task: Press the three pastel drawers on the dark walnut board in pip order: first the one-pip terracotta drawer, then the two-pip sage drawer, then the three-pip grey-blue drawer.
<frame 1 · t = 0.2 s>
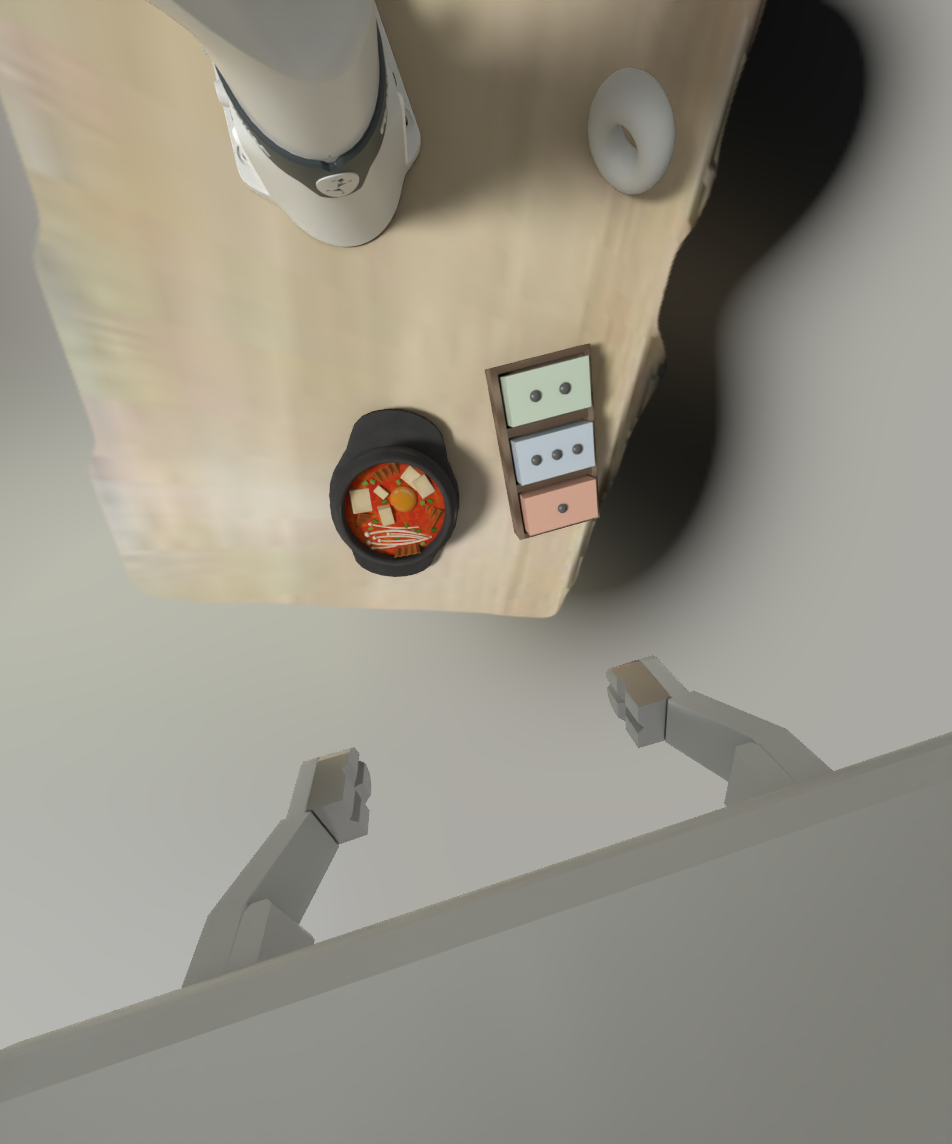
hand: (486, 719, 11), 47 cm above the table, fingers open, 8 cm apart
donut: (604, 164, 42), on the table
casserole: (396, 497, 55), on the table
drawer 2: (545, 391, 48), point 4 cm above the table, slide at 0.0 cm
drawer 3: (552, 452, 52), point 4 cm above the table, slide at 0.0 cm
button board: (543, 448, 56), on the table
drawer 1: (558, 505, 56), point 4 cm above the table, slide at 0.0 cm
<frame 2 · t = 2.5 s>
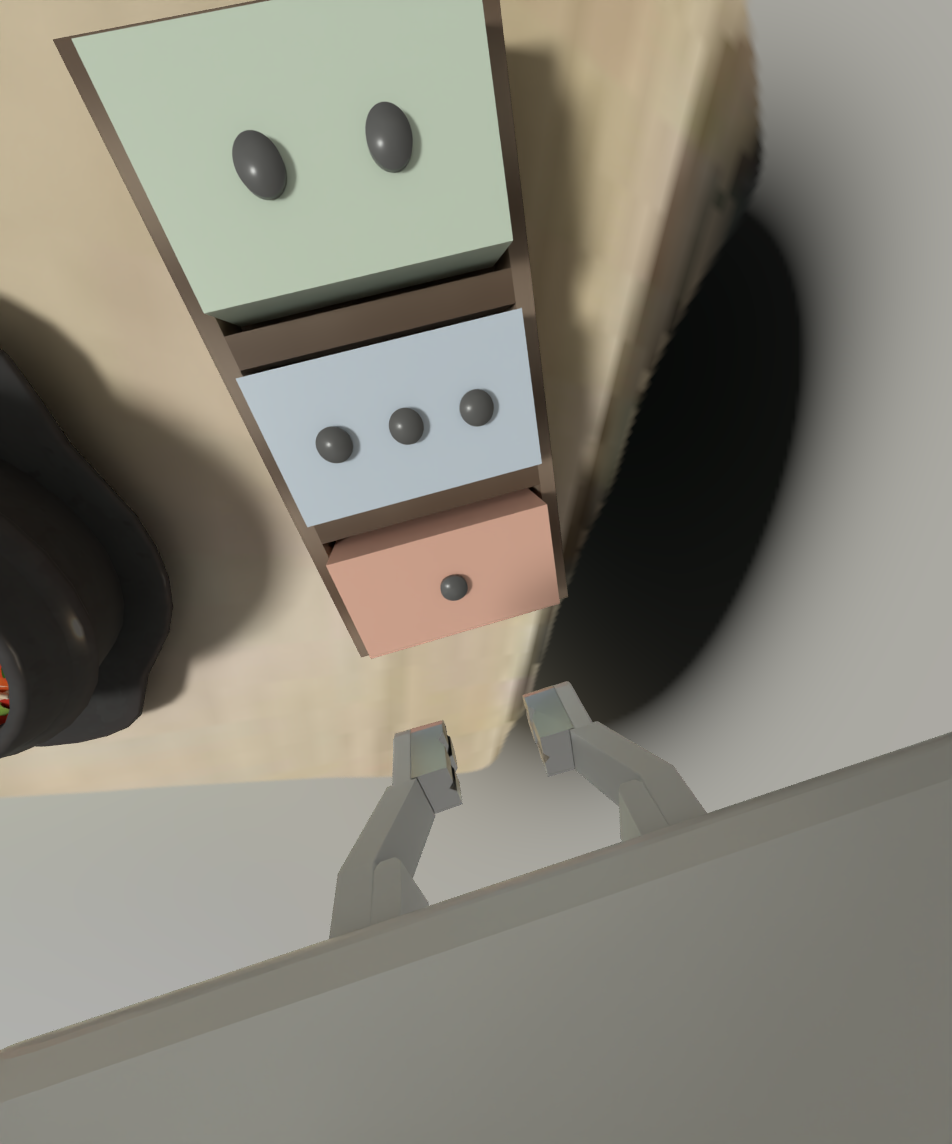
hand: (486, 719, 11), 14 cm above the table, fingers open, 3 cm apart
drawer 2: (334, 179, 13), point 4 cm above the table, slide at 0.0 cm
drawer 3: (406, 422, 16), point 4 cm above the table, slide at 0.0 cm
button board: (405, 415, 20), on the table
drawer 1: (450, 573, 20), point 4 cm above the table, slide at 0.0 cm
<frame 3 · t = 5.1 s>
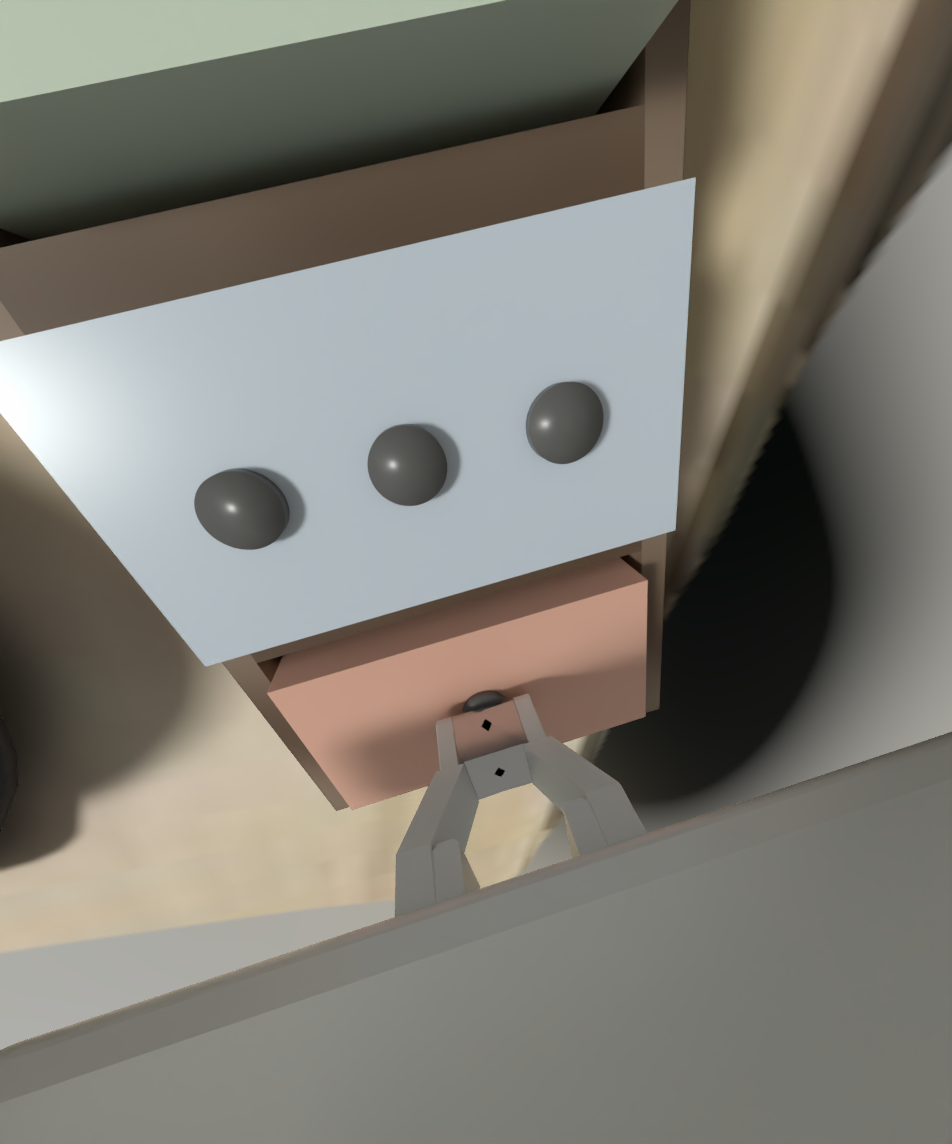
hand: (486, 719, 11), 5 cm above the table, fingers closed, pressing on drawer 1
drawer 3: (406, 451, 8), point 4 cm above the table, slide at 0.0 cm
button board: (405, 429, 12), on the table
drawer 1: (476, 673, 13), point 3 cm above the table, slide at 1.1 cm, touching gripper
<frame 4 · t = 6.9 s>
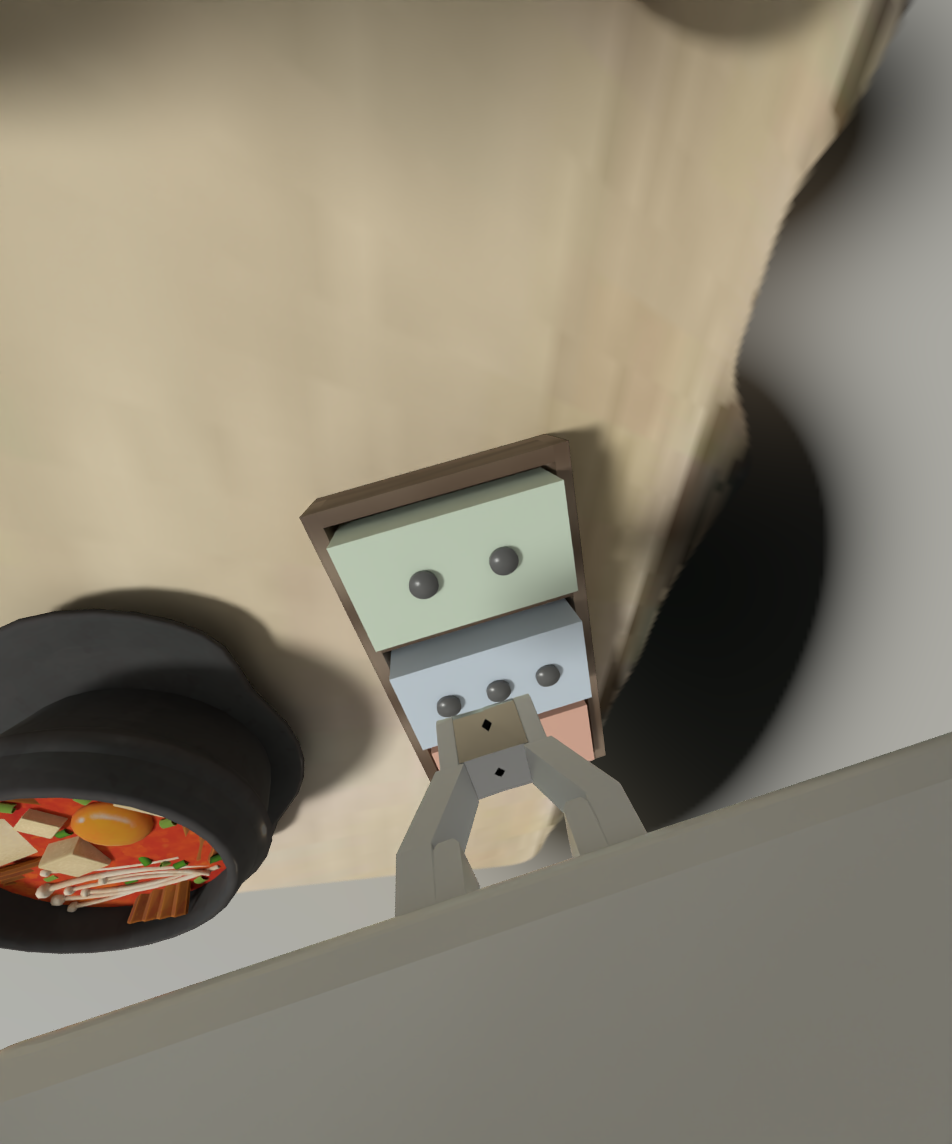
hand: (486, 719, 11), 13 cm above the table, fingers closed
casserole: (173, 742, 26), on the table
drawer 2: (459, 559, 19), point 4 cm above the table, slide at 0.0 cm
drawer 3: (492, 671, 23), point 4 cm above the table, slide at 0.0 cm
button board: (481, 634, 26), on the table
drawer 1: (512, 739, 27), point 3 cm above the table, slide at 1.2 cm
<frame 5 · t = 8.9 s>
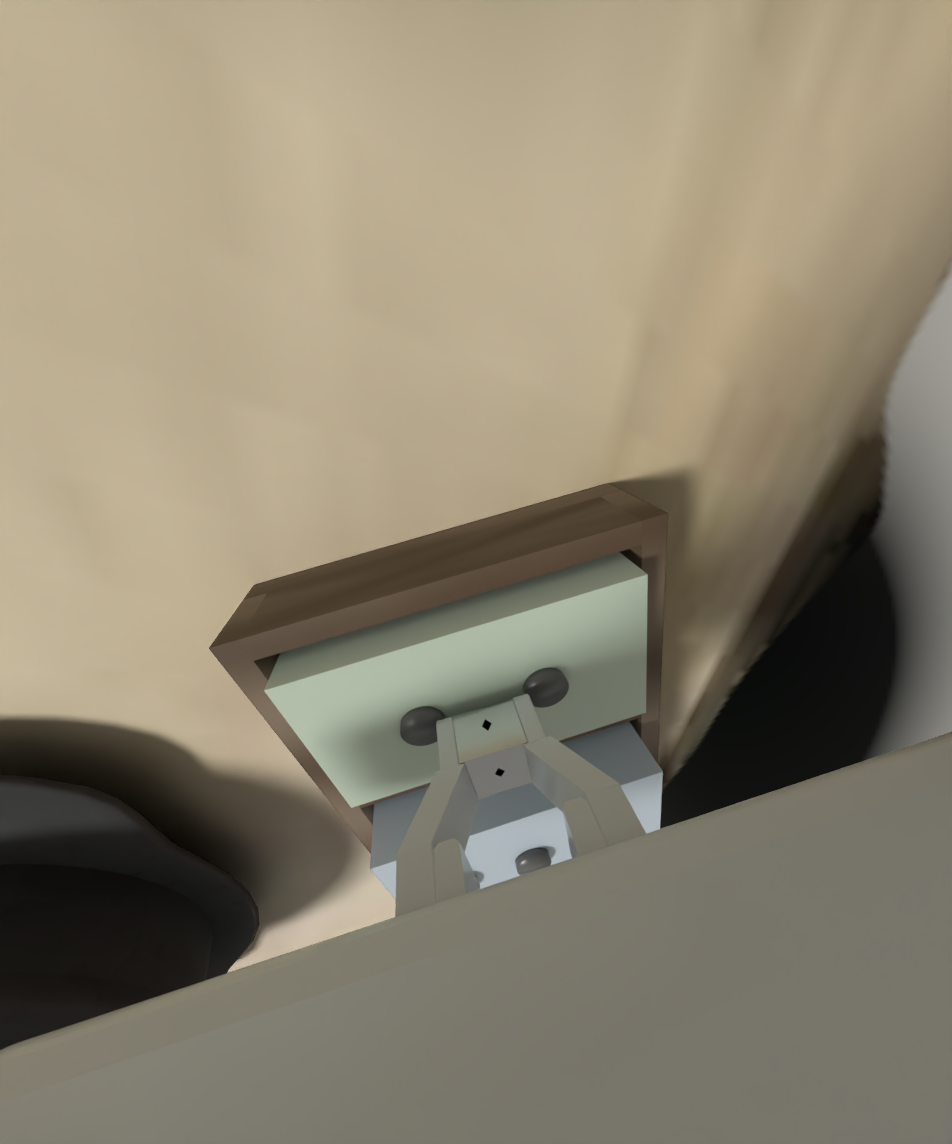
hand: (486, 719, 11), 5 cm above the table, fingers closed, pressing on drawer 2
casserole: (75, 888, 19), on the table
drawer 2: (475, 670, 13), point 3 cm above the table, slide at 1.1 cm, touching gripper
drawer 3: (521, 818, 16), point 4 cm above the table, slide at 0.0 cm
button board: (499, 739, 19), on the table
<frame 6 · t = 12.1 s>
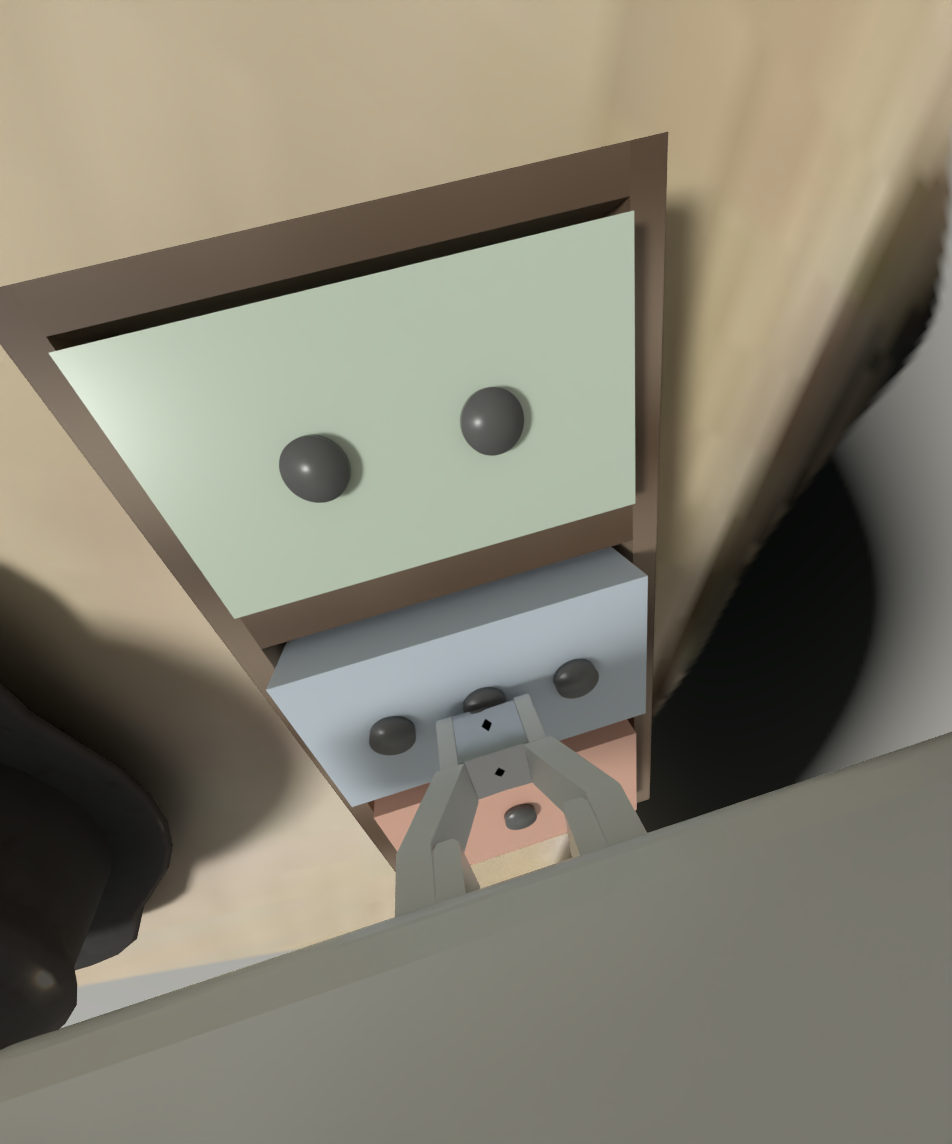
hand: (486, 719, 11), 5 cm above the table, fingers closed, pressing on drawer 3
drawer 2: (404, 435, 9), point 3 cm above the table, slide at 1.2 cm
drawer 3: (476, 670, 13), point 3 cm above the table, slide at 0.6 cm, touching gripper
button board: (461, 615, 16), on the table
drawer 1: (510, 780, 17), point 3 cm above the table, slide at 1.2 cm
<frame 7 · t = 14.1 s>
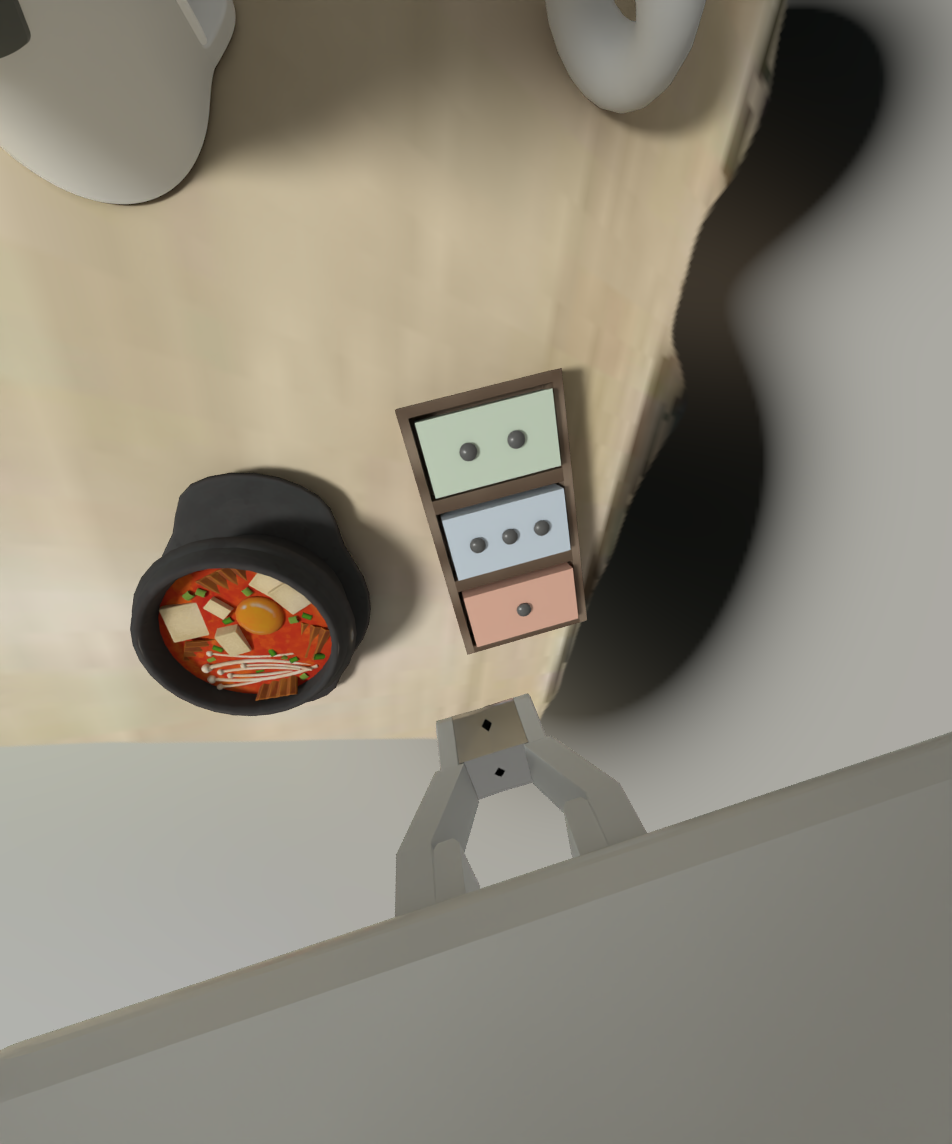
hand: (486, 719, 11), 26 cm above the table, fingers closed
donut: (579, 66, 24), on the table
casserole: (276, 595, 37), on the table
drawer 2: (488, 443, 31), point 3 cm above the table, slide at 1.2 cm
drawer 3: (505, 530, 34), point 3 cm above the table, slide at 1.2 cm
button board: (499, 521, 37), on the table
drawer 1: (519, 601, 38), point 3 cm above the table, slide at 1.2 cm
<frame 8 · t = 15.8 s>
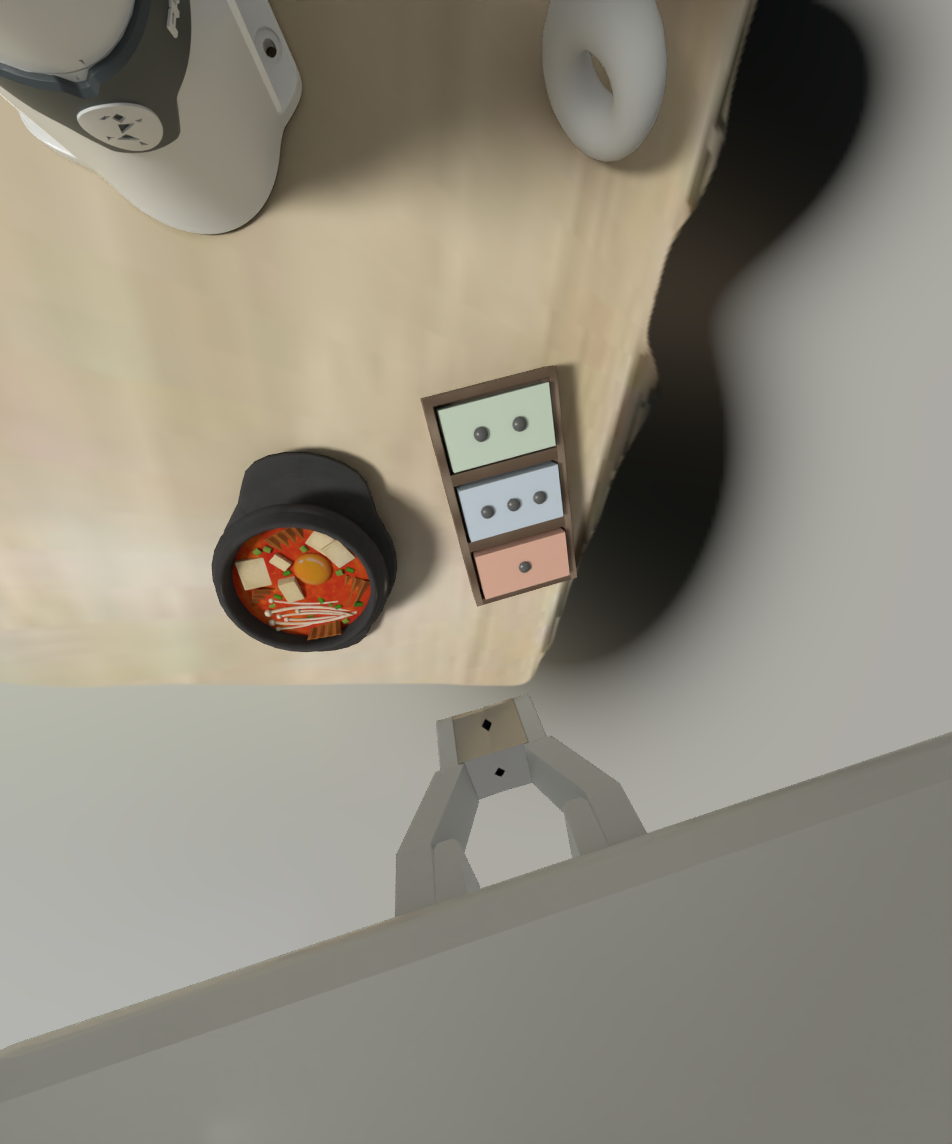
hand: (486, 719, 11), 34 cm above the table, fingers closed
donut: (571, 120, 30), on the table
casserole: (317, 557, 44), on the table
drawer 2: (496, 427, 37), point 3 cm above the table, slide at 1.2 cm
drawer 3: (509, 500, 41), point 3 cm above the table, slide at 1.2 cm
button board: (503, 494, 44), on the table
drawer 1: (520, 561, 45), point 3 cm above the table, slide at 1.2 cm
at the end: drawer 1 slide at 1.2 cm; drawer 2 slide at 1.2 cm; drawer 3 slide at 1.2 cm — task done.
